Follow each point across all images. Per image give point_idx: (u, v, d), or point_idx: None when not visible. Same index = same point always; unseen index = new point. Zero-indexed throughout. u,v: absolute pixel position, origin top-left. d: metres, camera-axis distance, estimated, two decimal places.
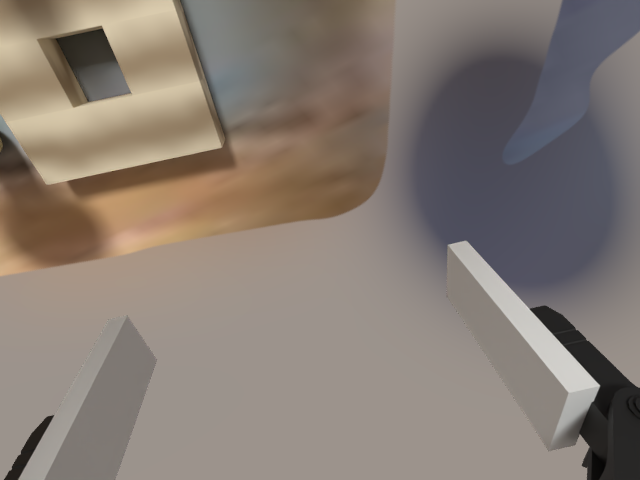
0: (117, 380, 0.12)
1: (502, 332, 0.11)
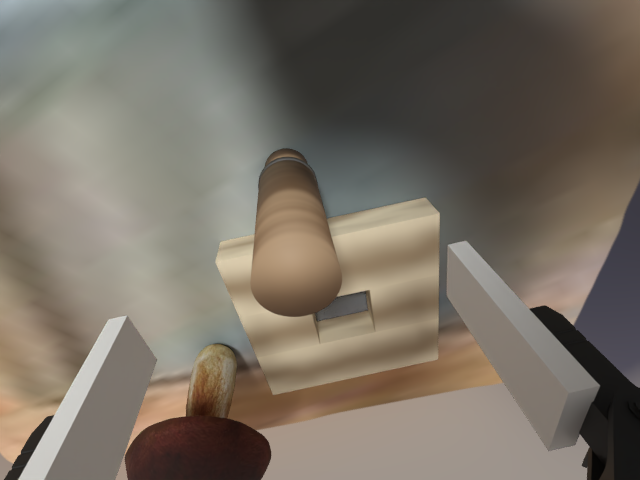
0: (117, 380, 0.12)
1: (502, 332, 0.11)
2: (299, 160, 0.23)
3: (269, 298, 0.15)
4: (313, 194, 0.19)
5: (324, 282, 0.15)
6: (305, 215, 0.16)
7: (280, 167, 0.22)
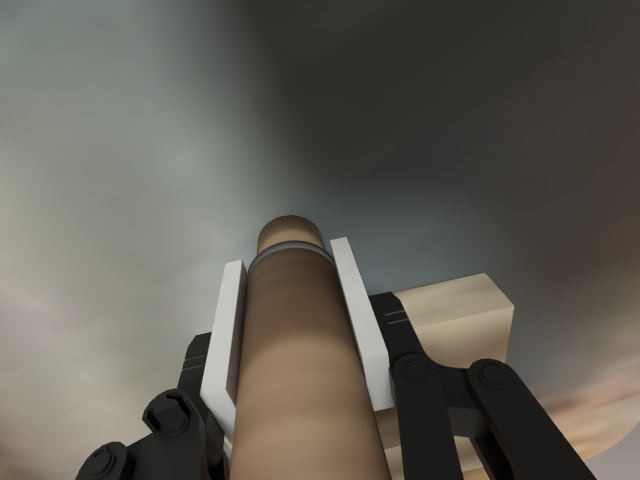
0: None
1: (348, 314, 0.12)
2: (311, 246, 0.15)
3: None
4: (341, 337, 0.11)
5: None
6: (337, 436, 0.08)
7: (281, 266, 0.13)
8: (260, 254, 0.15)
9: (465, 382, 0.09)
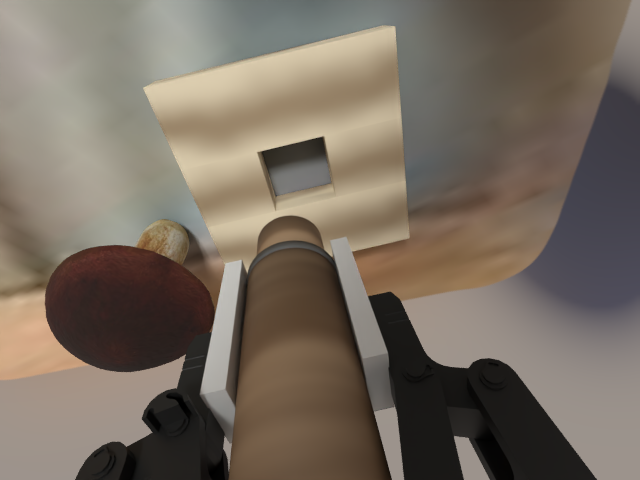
0: None
1: (348, 314, 0.12)
2: (311, 246, 0.14)
3: None
4: (341, 338, 0.11)
5: None
6: (337, 437, 0.08)
7: (281, 267, 0.13)
8: (260, 254, 0.15)
9: (465, 382, 0.09)
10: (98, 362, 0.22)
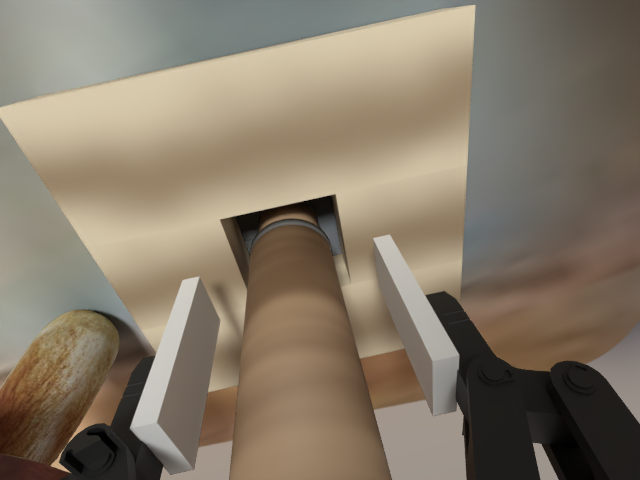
0: (198, 330, 0.13)
1: (403, 314, 0.12)
2: (307, 224, 0.16)
3: None
4: (332, 295, 0.12)
5: None
6: (326, 363, 0.09)
7: (280, 239, 0.15)
8: (261, 231, 0.16)
9: (545, 382, 0.09)
10: None
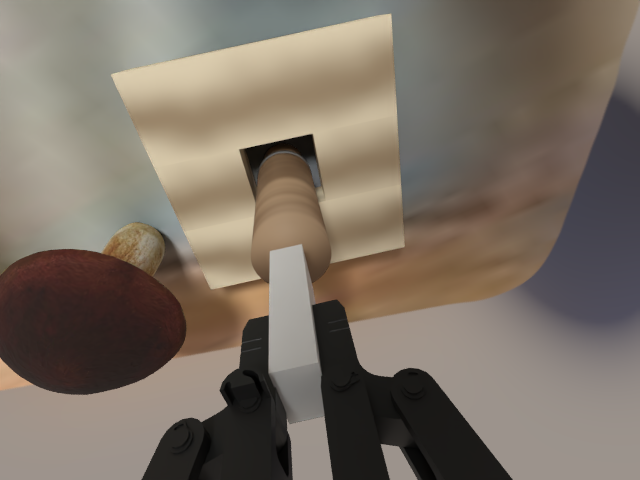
0: None
1: None
2: (295, 153, 0.25)
3: (267, 270, 0.17)
4: (307, 182, 0.21)
5: (316, 256, 0.17)
6: (300, 198, 0.18)
7: (277, 159, 0.24)
8: (265, 158, 0.25)
9: (389, 396, 0.09)
10: (44, 384, 0.19)
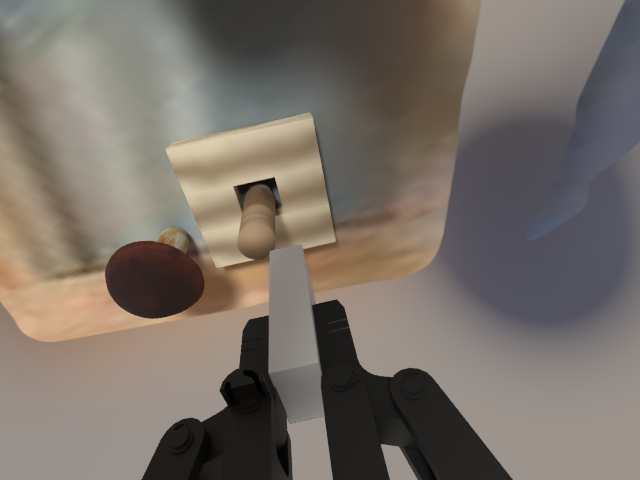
0: None
1: None
2: (264, 188, 0.45)
3: (245, 250, 0.37)
4: (268, 206, 0.41)
5: (268, 243, 0.37)
6: (261, 216, 0.38)
7: (254, 192, 0.43)
8: (248, 190, 0.45)
9: (390, 395, 0.09)
10: (137, 307, 0.38)
